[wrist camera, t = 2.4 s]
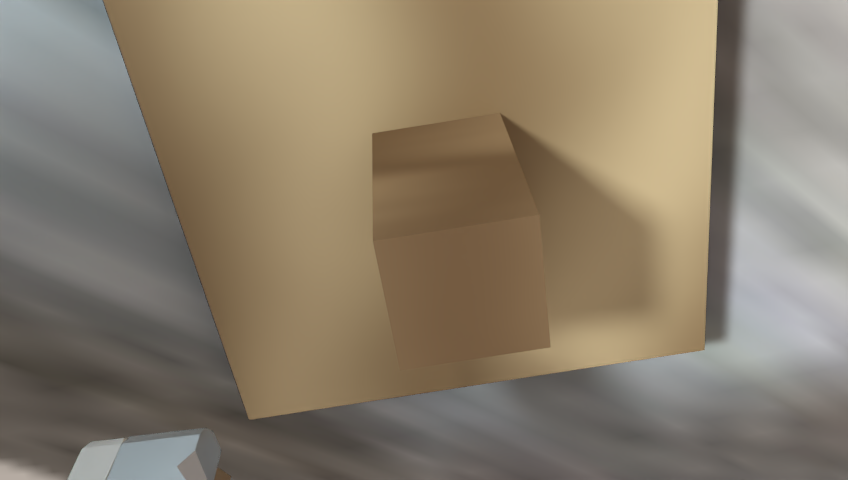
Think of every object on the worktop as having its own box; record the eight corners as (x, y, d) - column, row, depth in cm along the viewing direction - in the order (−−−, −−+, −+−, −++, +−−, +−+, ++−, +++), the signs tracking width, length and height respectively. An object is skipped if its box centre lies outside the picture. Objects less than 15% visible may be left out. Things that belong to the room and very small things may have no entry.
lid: (253, 396, 19) (220, 571, 15) (98, -63, 14) (-21, 7, 9) (692, 328, 19) (784, 486, 14) (705, -166, 13) (856, -139, 9)
